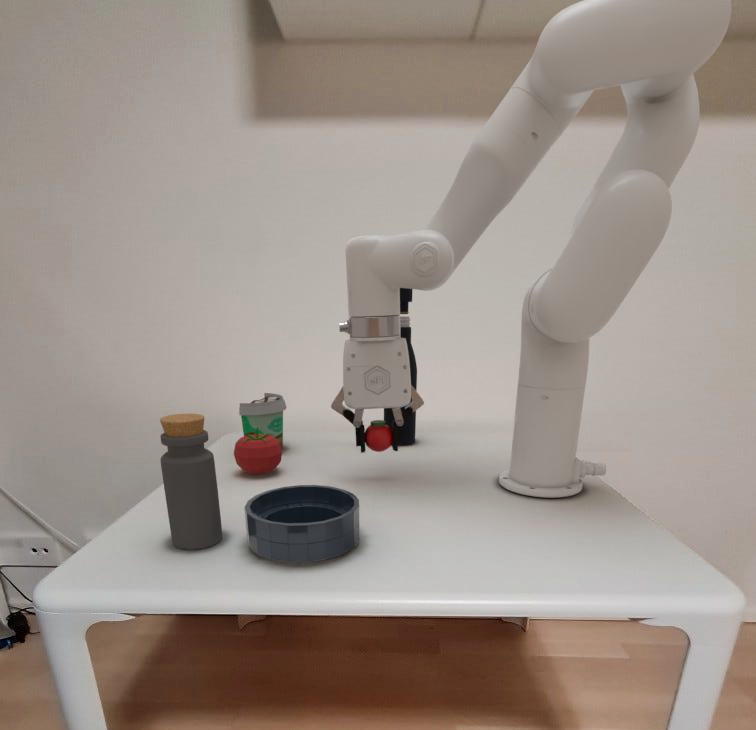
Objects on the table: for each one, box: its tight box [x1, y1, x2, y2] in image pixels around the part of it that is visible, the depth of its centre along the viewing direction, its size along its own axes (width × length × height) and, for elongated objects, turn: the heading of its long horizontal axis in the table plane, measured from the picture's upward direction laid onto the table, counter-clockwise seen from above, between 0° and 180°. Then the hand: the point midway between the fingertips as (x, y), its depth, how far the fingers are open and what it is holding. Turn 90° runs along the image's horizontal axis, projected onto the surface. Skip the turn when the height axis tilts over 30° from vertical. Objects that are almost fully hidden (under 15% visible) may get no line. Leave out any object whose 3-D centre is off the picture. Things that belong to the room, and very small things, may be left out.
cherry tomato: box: [365, 419, 393, 453], centre depth 86 cm, size 5×5×5 cm
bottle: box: [159, 413, 223, 551], centre depth 63 cm, size 6×6×15 cm
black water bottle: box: [383, 288, 418, 447], centre depth 105 cm, size 6×6×30 cm
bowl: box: [244, 484, 361, 563], centre depth 65 cm, size 13×13×5 cm
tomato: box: [233, 427, 283, 475], centre depth 90 cm, size 8×8×8 cm
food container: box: [238, 392, 287, 451], centre depth 102 cm, size 12×6×10 cm, turn 168°
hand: (379, 448), depth 86 cm, fingers closed on cherry tomato, 4 cm apart
